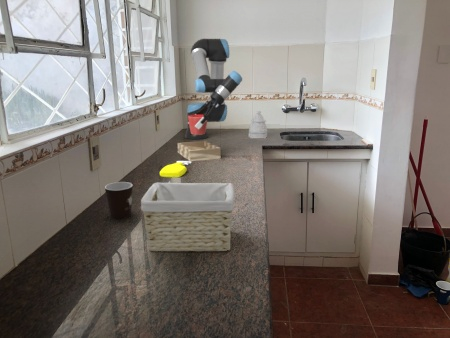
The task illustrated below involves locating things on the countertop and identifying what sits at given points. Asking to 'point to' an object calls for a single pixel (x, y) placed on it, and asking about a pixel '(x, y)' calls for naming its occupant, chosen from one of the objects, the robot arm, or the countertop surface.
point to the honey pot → (258, 127)
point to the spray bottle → (174, 169)
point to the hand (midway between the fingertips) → (193, 126)
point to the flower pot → (193, 121)
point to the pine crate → (199, 151)
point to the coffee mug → (119, 199)
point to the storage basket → (188, 216)
